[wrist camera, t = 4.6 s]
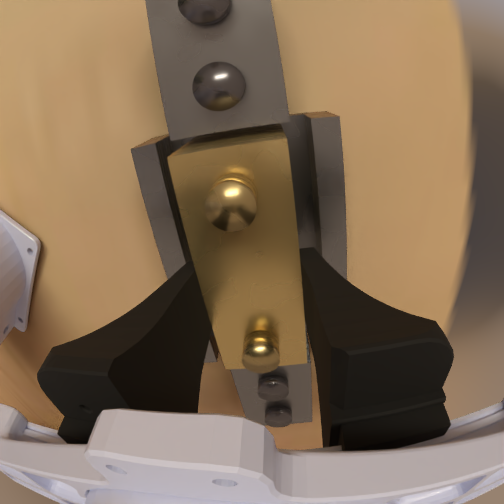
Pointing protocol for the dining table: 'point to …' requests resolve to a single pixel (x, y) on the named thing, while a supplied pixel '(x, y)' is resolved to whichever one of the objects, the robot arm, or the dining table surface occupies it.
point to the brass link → (244, 243)
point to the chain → (235, 118)
